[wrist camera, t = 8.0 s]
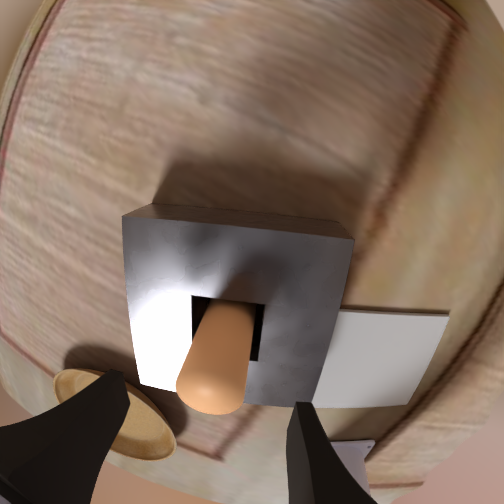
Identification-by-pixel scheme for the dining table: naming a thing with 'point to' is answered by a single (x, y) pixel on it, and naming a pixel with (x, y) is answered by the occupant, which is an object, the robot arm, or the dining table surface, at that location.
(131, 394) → the plant saucer
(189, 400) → the peg
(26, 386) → the dining table surface
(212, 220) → the socket block
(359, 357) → the mat
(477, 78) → the dining table surface
